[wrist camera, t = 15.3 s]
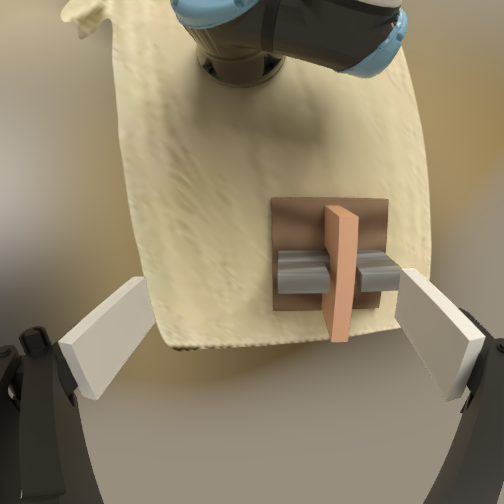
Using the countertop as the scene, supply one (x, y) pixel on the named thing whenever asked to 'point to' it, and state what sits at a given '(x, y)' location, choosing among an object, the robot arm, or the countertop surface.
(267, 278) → the countertop surface
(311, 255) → the slotted stand
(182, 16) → the robot arm
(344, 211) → the terracotta plate
